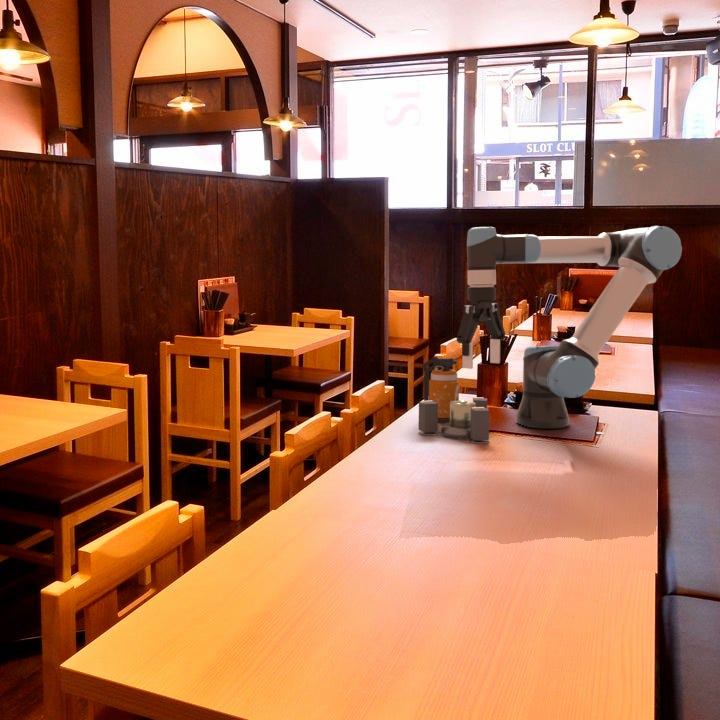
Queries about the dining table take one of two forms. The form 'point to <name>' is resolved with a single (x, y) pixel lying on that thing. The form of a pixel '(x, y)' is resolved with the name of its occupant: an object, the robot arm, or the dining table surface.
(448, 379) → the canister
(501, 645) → the dining table surface
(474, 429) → the gray rectangular block
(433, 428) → the grey upright block
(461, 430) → the tribrach
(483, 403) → the knob
